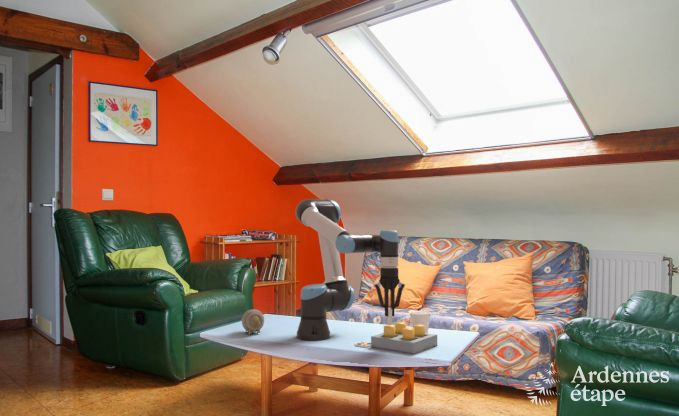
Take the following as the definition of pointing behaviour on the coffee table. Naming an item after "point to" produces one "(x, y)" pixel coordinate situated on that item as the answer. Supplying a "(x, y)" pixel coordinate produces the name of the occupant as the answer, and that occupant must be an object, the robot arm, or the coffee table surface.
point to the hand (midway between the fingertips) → (389, 324)
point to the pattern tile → (363, 344)
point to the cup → (420, 318)
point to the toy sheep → (253, 321)
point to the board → (404, 343)
